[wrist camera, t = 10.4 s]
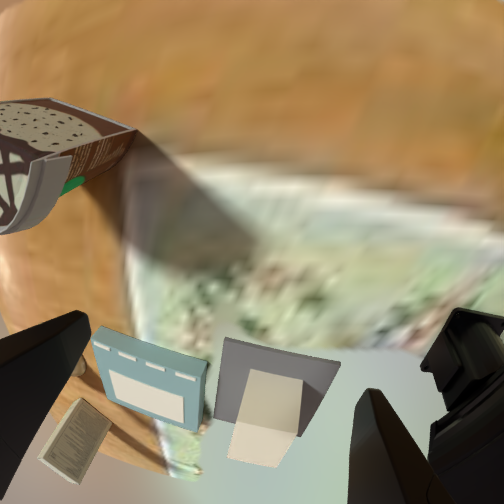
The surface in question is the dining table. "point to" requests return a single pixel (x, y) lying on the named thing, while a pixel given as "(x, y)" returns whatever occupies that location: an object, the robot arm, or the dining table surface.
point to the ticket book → (151, 378)
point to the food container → (51, 155)
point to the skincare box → (75, 441)
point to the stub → (266, 419)
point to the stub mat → (275, 362)
